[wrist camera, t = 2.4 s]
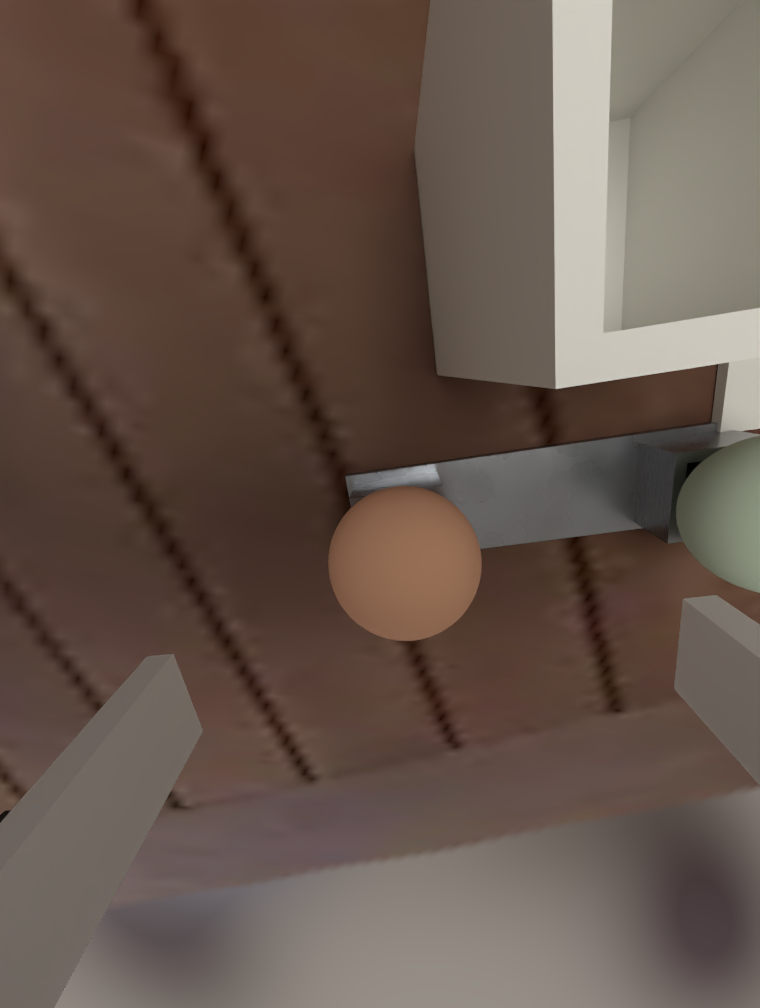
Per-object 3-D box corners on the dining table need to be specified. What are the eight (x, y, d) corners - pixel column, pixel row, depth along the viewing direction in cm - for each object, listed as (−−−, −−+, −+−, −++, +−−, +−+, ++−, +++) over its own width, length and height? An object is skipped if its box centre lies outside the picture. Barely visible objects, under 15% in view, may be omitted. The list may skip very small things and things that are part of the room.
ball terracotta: (327, 479, 18) (297, 532, 12) (460, 460, 17) (494, 505, 12) (350, 594, 20) (334, 685, 14) (470, 579, 19) (504, 668, 13)
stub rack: (345, 474, 20) (338, 491, 17) (732, 418, 19) (794, 427, 16) (362, 560, 22) (357, 589, 19) (720, 514, 20) (773, 538, 18)
